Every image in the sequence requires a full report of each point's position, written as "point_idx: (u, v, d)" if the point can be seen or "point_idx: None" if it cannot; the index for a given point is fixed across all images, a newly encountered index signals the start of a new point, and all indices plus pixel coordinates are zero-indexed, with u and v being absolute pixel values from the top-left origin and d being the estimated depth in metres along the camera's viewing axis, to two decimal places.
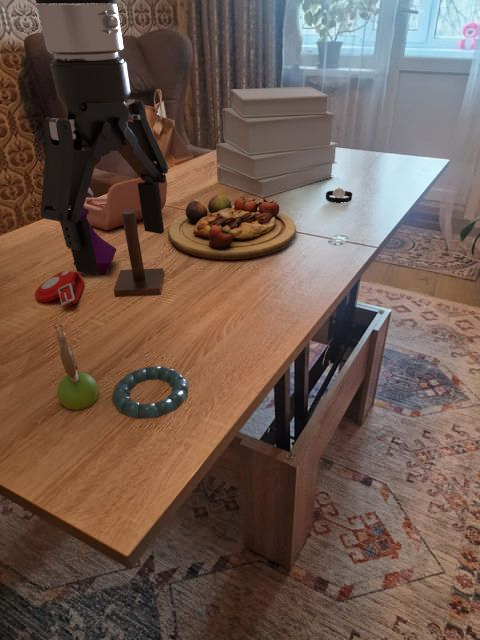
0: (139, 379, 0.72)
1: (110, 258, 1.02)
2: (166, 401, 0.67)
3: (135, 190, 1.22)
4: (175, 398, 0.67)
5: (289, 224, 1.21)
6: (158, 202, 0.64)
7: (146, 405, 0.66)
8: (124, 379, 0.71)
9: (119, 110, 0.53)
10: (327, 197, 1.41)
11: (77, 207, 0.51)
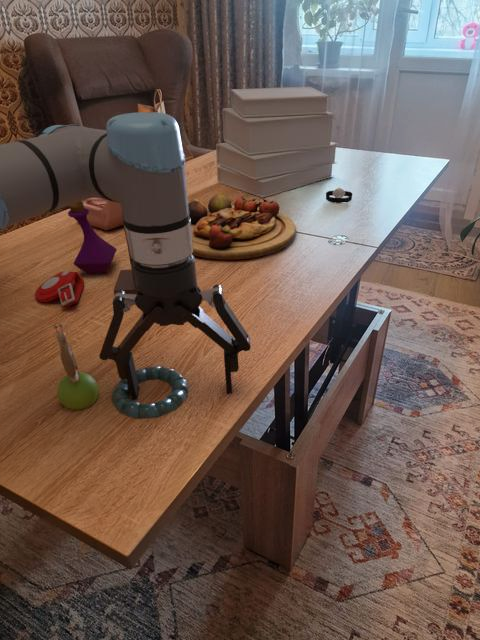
0: (139, 379, 0.72)
1: (110, 258, 1.02)
2: (166, 401, 0.67)
3: None
4: (175, 398, 0.67)
5: (289, 224, 1.21)
6: (227, 370, 0.67)
7: (146, 405, 0.66)
8: (124, 379, 0.71)
9: (185, 298, 0.60)
10: (327, 197, 1.41)
11: (120, 354, 0.64)
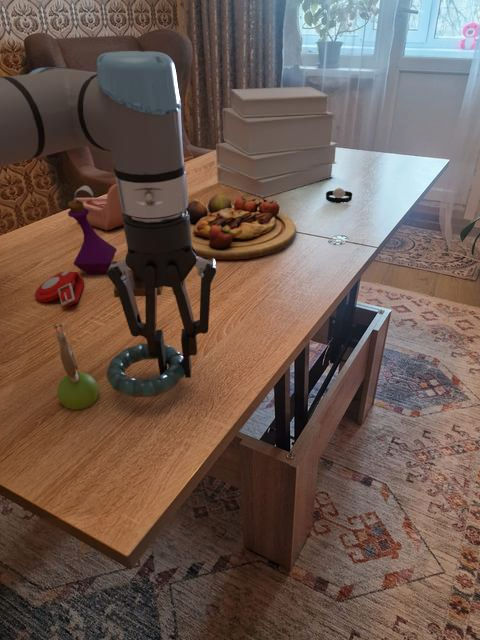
0: (135, 355, 0.69)
1: (110, 258, 1.02)
2: (162, 377, 0.64)
3: None
4: (172, 374, 0.65)
5: (289, 224, 1.21)
6: (185, 353, 0.65)
7: (141, 381, 0.64)
8: (119, 355, 0.68)
9: (182, 254, 0.57)
10: (327, 197, 1.41)
11: (148, 330, 0.63)
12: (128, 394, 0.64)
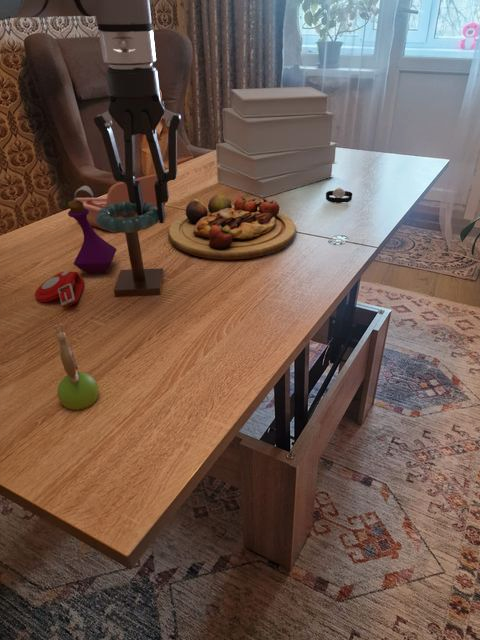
0: (119, 208, 0.85)
1: (110, 258, 1.02)
2: (139, 216, 0.80)
3: None
4: (147, 215, 0.81)
5: (289, 224, 1.21)
6: (158, 198, 0.81)
7: (122, 218, 0.79)
8: (106, 206, 0.84)
9: (152, 104, 0.73)
10: (327, 197, 1.41)
11: (127, 175, 0.78)
12: (112, 228, 0.79)
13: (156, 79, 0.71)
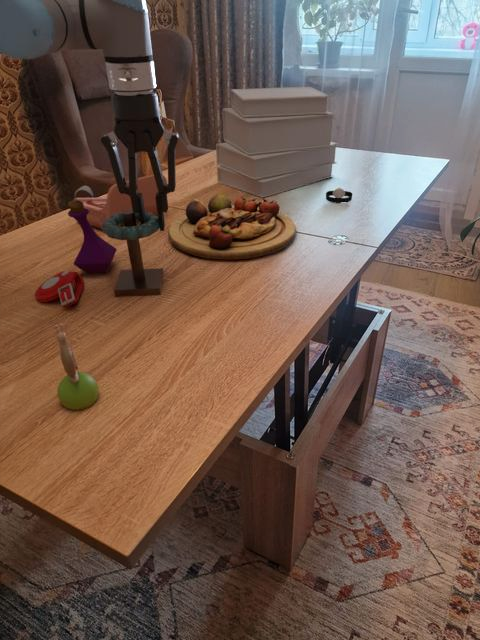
0: None
1: (110, 258, 1.02)
2: (142, 225, 0.89)
3: None
4: (149, 224, 0.89)
5: (289, 224, 1.21)
6: (158, 209, 0.89)
7: (127, 227, 0.88)
8: (111, 216, 0.93)
9: (153, 125, 0.81)
10: (327, 197, 1.41)
11: (131, 188, 0.87)
12: (117, 236, 0.88)
13: (156, 103, 0.80)
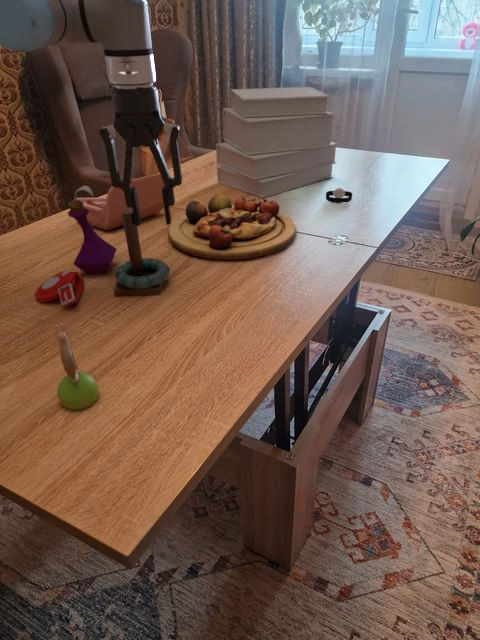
0: None
1: (110, 258, 1.02)
2: (153, 275, 0.95)
3: None
4: (159, 273, 0.95)
5: (289, 224, 1.21)
6: (165, 202, 0.89)
7: (139, 277, 0.94)
8: (123, 264, 0.99)
9: (152, 119, 0.81)
10: (327, 197, 1.41)
11: (125, 182, 0.86)
12: (130, 286, 0.94)
13: (156, 97, 0.79)
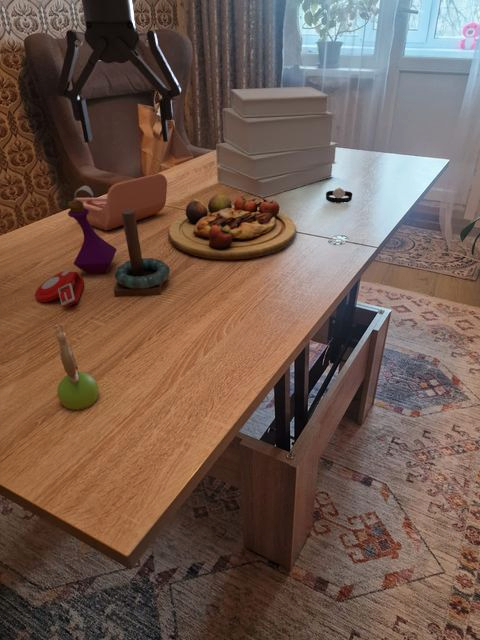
0: None
1: (110, 258, 1.02)
2: (153, 275, 0.95)
3: (135, 190, 1.22)
4: (159, 273, 0.95)
5: (289, 224, 1.21)
6: (162, 115, 0.83)
7: (139, 277, 0.94)
8: (123, 264, 0.99)
9: (125, 33, 0.76)
10: (327, 197, 1.41)
11: (74, 90, 0.80)
12: (130, 286, 0.94)
13: (130, 5, 0.74)
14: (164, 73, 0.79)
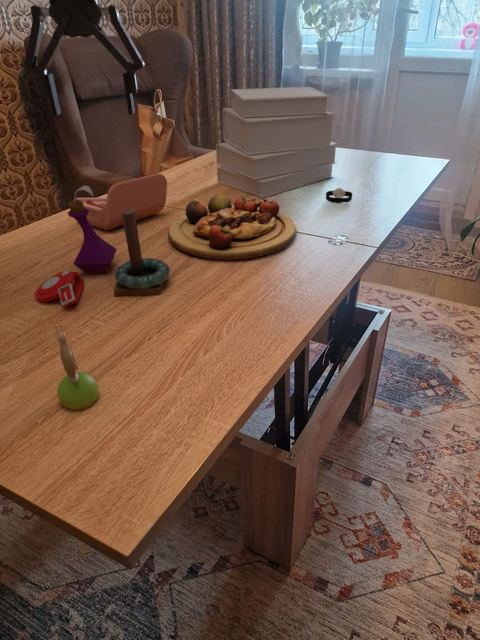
0: None
1: (110, 258, 1.02)
2: (153, 275, 0.95)
3: (135, 190, 1.22)
4: (159, 273, 0.95)
5: (289, 224, 1.21)
6: (126, 88, 0.86)
7: (139, 277, 0.94)
8: (123, 264, 0.99)
9: (87, 8, 0.79)
10: (327, 197, 1.41)
11: (41, 65, 0.83)
12: (130, 286, 0.94)
13: None
14: (126, 47, 0.83)
